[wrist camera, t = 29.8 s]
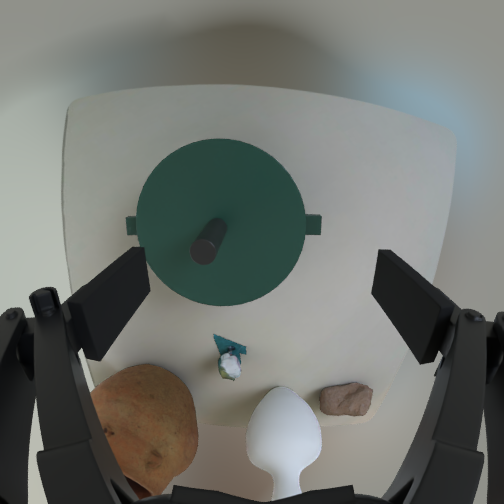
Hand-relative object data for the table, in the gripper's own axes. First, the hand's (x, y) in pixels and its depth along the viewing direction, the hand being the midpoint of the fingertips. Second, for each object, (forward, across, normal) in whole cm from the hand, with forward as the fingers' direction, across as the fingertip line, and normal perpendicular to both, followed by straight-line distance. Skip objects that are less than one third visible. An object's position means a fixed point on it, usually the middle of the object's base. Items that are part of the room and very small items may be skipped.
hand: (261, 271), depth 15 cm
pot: (+30, -23, -41) cm, 56 cm away
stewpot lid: (+18, -5, -2) cm, 19 cm away
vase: (+30, +5, -42) cm, 52 cm away
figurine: (+30, -4, -30) cm, 43 cm away
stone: (+30, +20, -44) cm, 57 cm away
